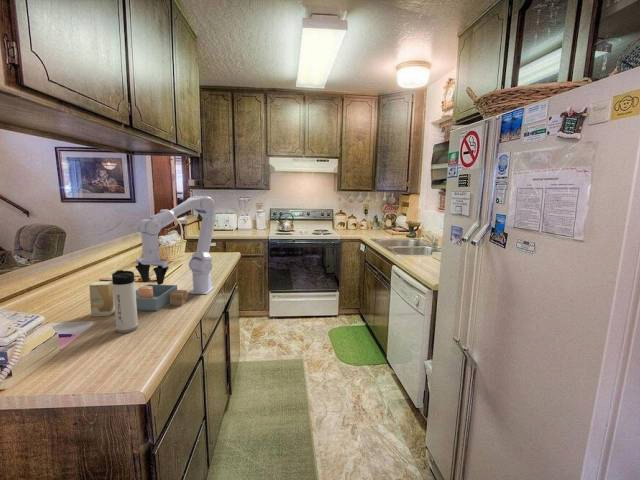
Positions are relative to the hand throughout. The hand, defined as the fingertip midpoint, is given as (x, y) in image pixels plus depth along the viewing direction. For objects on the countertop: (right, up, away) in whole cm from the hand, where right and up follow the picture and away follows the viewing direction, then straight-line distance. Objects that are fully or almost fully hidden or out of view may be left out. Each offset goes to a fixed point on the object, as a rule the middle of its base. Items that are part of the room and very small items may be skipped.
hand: (153, 282), depth 123 cm
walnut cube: (+8, -9, +5) cm, 13 cm away
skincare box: (-14, -11, -8) cm, 20 cm away
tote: (-3, -9, +5) cm, 10 cm away
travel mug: (+1, -13, -19) cm, 23 cm away
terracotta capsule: (-3, -9, +1) cm, 9 cm away
